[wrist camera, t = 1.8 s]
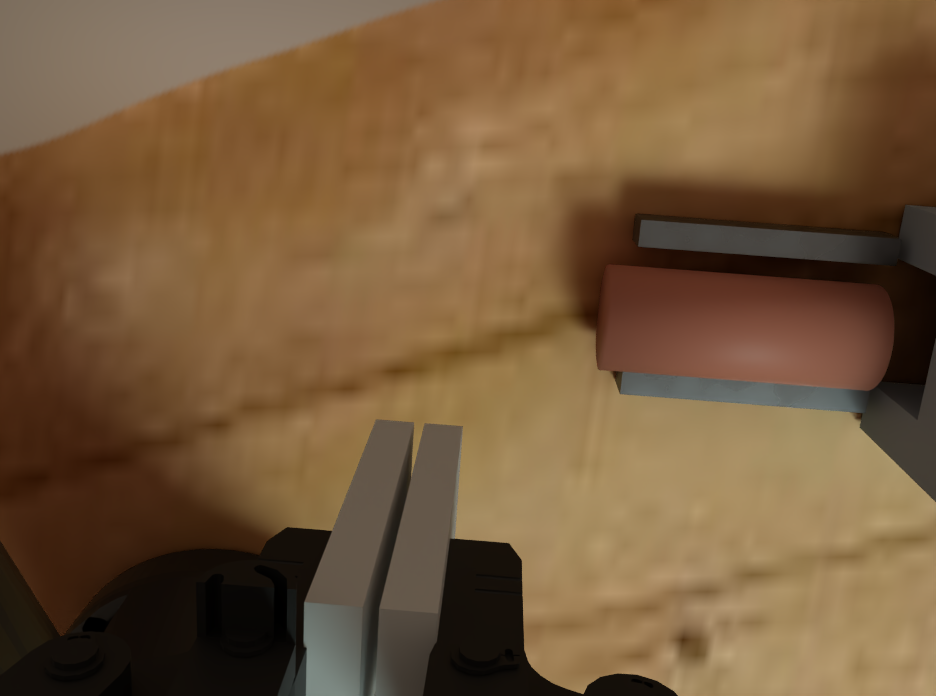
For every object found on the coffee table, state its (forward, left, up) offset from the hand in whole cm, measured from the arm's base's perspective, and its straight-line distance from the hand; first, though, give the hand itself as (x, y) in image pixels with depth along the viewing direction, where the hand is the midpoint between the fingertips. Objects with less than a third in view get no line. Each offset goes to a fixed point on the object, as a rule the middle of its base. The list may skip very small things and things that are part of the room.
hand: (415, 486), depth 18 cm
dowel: (+10, 0, -19) cm, 21 cm away
